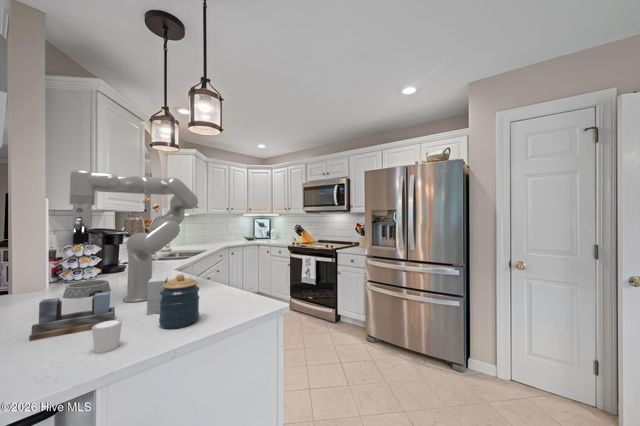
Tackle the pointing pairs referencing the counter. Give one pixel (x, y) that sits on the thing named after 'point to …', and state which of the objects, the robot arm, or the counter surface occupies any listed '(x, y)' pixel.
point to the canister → (179, 303)
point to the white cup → (106, 335)
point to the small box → (154, 294)
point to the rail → (64, 320)
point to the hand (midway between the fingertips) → (81, 243)
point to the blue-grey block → (101, 303)
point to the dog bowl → (86, 288)
